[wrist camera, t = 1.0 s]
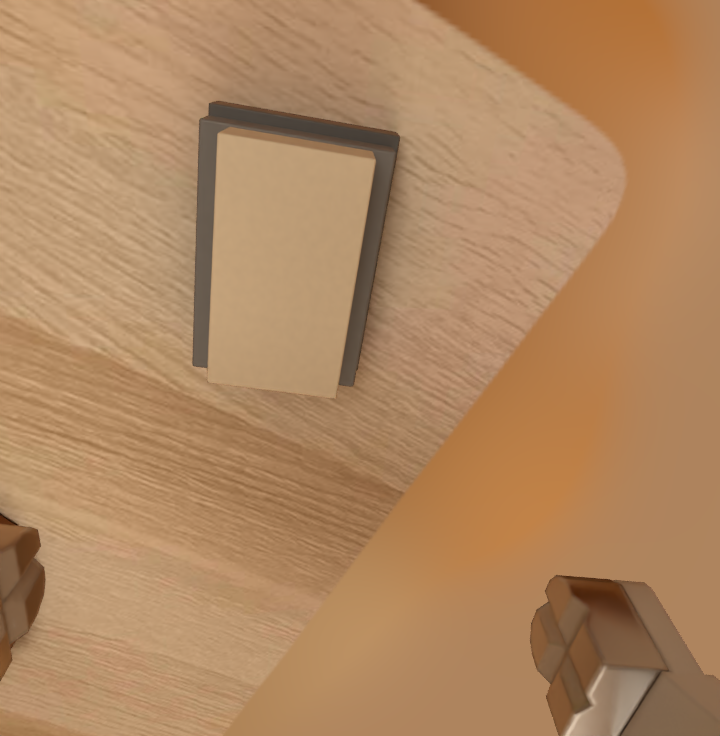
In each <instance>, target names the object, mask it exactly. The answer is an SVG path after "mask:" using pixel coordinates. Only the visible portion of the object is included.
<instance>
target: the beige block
mask: <svg viewBox="0 0 720 736" xmlns="http://www.w3.org/2000/svg"><path fill="white" fill-rule="evenodd" d="M375 165H376V159H375V157H374V154H373V152H372V151H368V150H362V149H356V148H351V147H345V146H339V145H333V144H327V143H322V142H316V141H310V140H304V139H298V138H292V137H287V136H281V135H275V134H269V133H263V132H258V131H252V130H246V129H240V128H234V127H228V128H227V129H225V130H223V131H221V132H219V133H218V134H217V156H216V179H215V202H214V226H213V249H212V273H211V296H210V320H209V343H208V367H207V382H208V383H214V384H222V385H230V386H238V387H246V388H254V389H262V390H270V391H278V392H285V393H293V394H301V395H309V396H317V397H325V398H333V399H335V398H336V396H337V390H338V384H339V379H340V373H341V367H342V361H343V355H344V349H345V343H346V337H347V331H348V325H349V319H350V313H351V307H352V301H353V295H354V289H355V283H356V278H357V272H358V266H359V260H360V254H361V248H362V242H363V236H364V230H365V224H366V218H367V212H368V206H369V200H370V194H371V188H372V183H373V177H374V171H375Z"/></svg>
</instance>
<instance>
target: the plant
mask: <svg viewBox="0 0 720 736" xmlns="http://www.w3.org/2000/svg"><path fill="white" fill-rule="evenodd" d="M0 524H7V525H15V524H13V523H12V522H10V521H8V520H7V519H5V518H4V517H2V516H1V515H0ZM15 641H16V640H15ZM15 641H14V642H13V643H11V644H10V649H11V648H12V646H13V645H14V643H15Z"/></svg>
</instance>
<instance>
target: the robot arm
mask: <svg viewBox="0 0 720 736" xmlns="http://www.w3.org/2000/svg"><path fill="white" fill-rule="evenodd" d="M40 547H41V544H40V538H39V533H38V530H37V529H34V528H32V527H24V526H16V525H7V524H0V681H1V679H2V677H3V676H4V674H5V672H6V670H7V669H8V667H9V665H10V663H11V661H12V655H11V649H10V644H11V643H13V642H14V641H15V640H17V639H18V638H20V637H21V636H23V635H24V634H26V633H27V632H28V631H29V629H30V627H31V626H32V624H33V622H34V620H35V618H36V616H37V614H38V611H39V608H40V605H41V602H42V599H43V596H44V589H45V571H44V567H43V566H42V565H41V564H40V563H39V562H38V561H37V560H36V559H35V558H34V556H35V555H36V553H37V552H38V550H39V548H40ZM545 593H546V595H547V598H548V601H549V602H547V603H546V604H544V605H543V606H541V607H540V608H539V609H537V610H536V613H535V615H534V618H533V620H532V623H531V635H530V643H531V649H532V655H533V659H534V662H535V665H536V668H537V670H538V671H539V672H540V673H541V674H542V675H543V677H544V678H545V679H546V680H547V681H548V682H549V683H550V684H551V685H550V687H549V690H548V693H547V695H546V699H547V702H548V705H549V708H550V711H551V714H552V717H553V720H554V723H555V726H556V729H557V732H558V735H559V736H720V680H718V679H717V678H716V677H715V676H713V675H704V673H703V672H702V670H701V668H700V667H699V665H698V663H697V662H696V660H695V659H694V657H693V655H692V654H691V652H690V650H689V649H688V647H687V645H686V644H685V642H684V641H683V639H682V637H681V636H680V634H679V632H678V631H677V629H676V627H675V626H674V624H673V623H672V621H671V619H670V617H669V616H668V614H667V613H666V611H665V609H664V608H663V606H662V604H661V603H660V601H659V599H658V598H657V596H656V595H655V593H654V591H653V590H652V589H651V588H650V587H649V586H648V585H647V584H645V583H644V582H631V581H620V580H613V581H612V580H610V579H596V578H585V577H572V576H560V575H556V576H555V577H553V578H552V579H551V580H550V581H549V583H548V585H547V588H546V590H545Z"/></svg>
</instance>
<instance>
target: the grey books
mask: <svg viewBox="0 0 720 736" xmlns="http://www.w3.org/2000/svg"><path fill="white" fill-rule="evenodd" d="M228 127H234V128H240V129H246V130H252V131H258V132H263V133H269V134H275V135H281V136H287V137H292V138H298V139H304V140H310V141H316V142H322V143H327V144H333V145H339V146H345V147H351V148H356V149H362V150H368V151H372V152H373V154H374V157H375V159H376V165H375V171H374V177H373V183H372V188H371V194H370V200H369V206H368V212H367V218H366V224H365V230H364V236H363V242H362V248H361V254H360V260H359V266H358V272H357V278H356V283H355V289H354V295H353V301H352V307H351V313H350V319H349V325H348V331H347V337H346V343H345V349H344V355H343V361H342V367H341V373H340V379H339V384H338V385H344V386H353V385H354V380H355V375H356V371H357V369H358V364H359V358H360V353H361V347H362V342H363V336H364V331H365V326H366V320H367V315H368V309H369V304H370V298H371V293H372V288H373V282H374V277H375V271H376V266H377V260H378V255H379V249H380V244H381V239H382V233H383V228H384V222H385V217H386V211H387V206H388V201H389V195H390V190H391V184H392V179H393V173H394V168H395V162H396V157H397V152H398V146H399V141H400V136H399V135H398V134H397V133H396V132H392V131H386V130H381V129H375V128H369V127H364V126H358V125H352V124H347V123H341V122H335V121H330V120H324V119H318V118H313V117H307V116H301V115H296V114H290V113H284V112H278V111H273V110H267V109H261V108H256V107H250V106H244V105H239V104H233V103H227V102H222V101H216V102H212V103H209V116H207V117H204V118H201V119H200V120H199V151H198V186H197V221H196V257H195V292H194V327H193V362H192V364H193V366H196V367H204V368H207V367H208V343H209V320H210V296H211V273H212V249H213V226H214V202H215V179H216V156H217V134H218V133H219V132H221V131H223V130H225V129H227V128H228Z"/></svg>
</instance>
